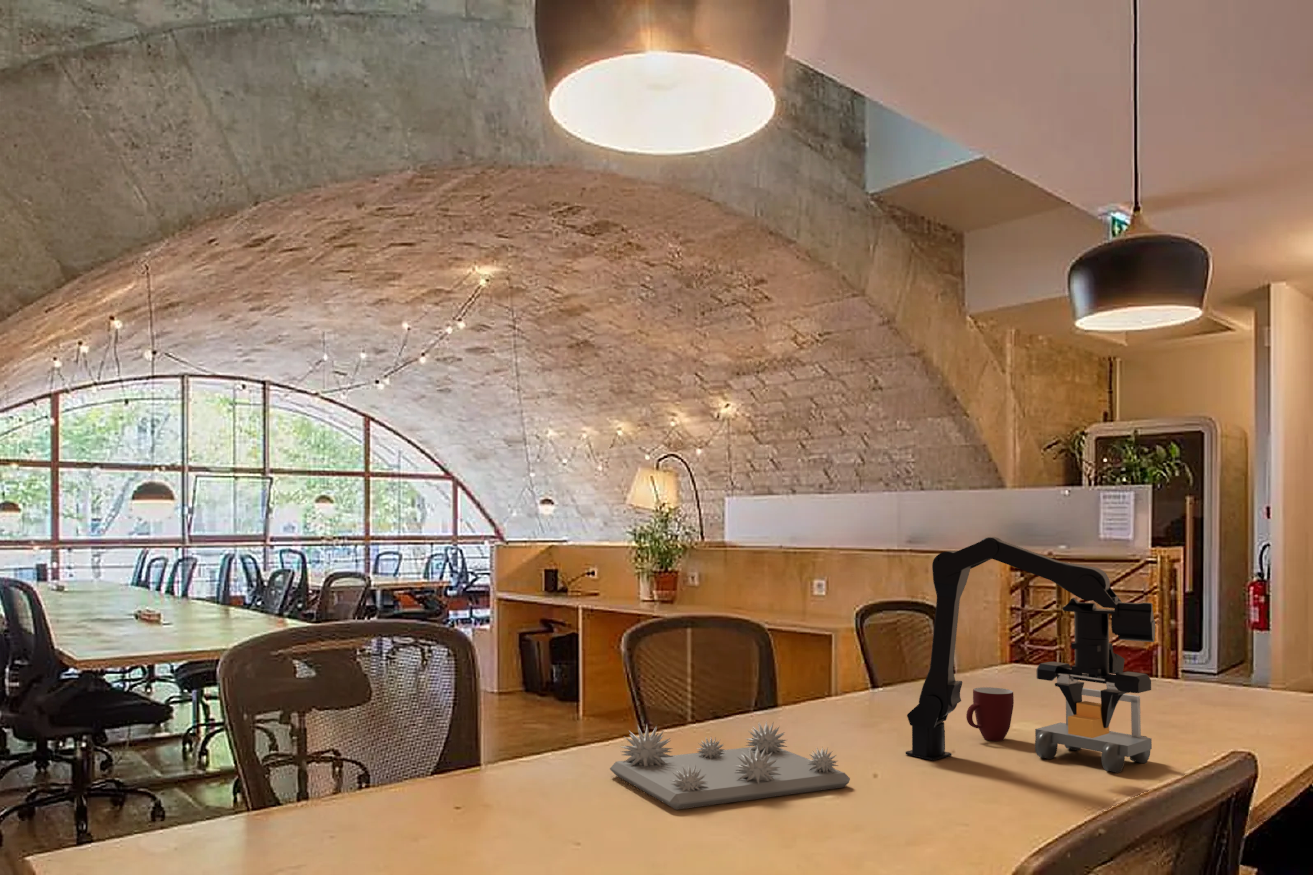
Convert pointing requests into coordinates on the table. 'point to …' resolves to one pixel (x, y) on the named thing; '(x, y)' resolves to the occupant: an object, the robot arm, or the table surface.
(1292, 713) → the table surface
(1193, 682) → the table surface
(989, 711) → the mug
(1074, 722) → the orange stair block
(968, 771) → the table surface
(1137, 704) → the trolley
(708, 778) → the decorative tray
